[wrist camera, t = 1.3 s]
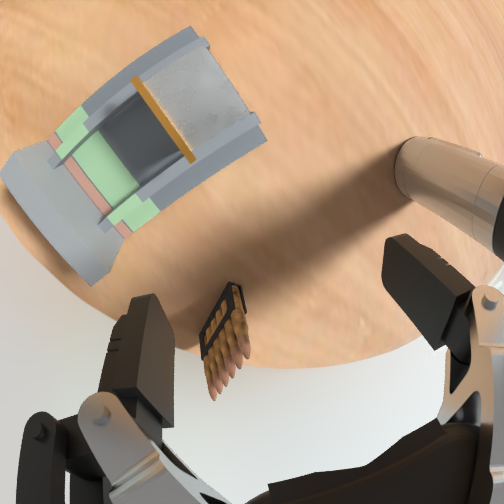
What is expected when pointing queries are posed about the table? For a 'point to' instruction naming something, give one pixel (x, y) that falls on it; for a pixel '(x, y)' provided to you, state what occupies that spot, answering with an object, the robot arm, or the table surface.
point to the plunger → (192, 100)
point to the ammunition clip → (225, 339)
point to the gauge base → (116, 165)
